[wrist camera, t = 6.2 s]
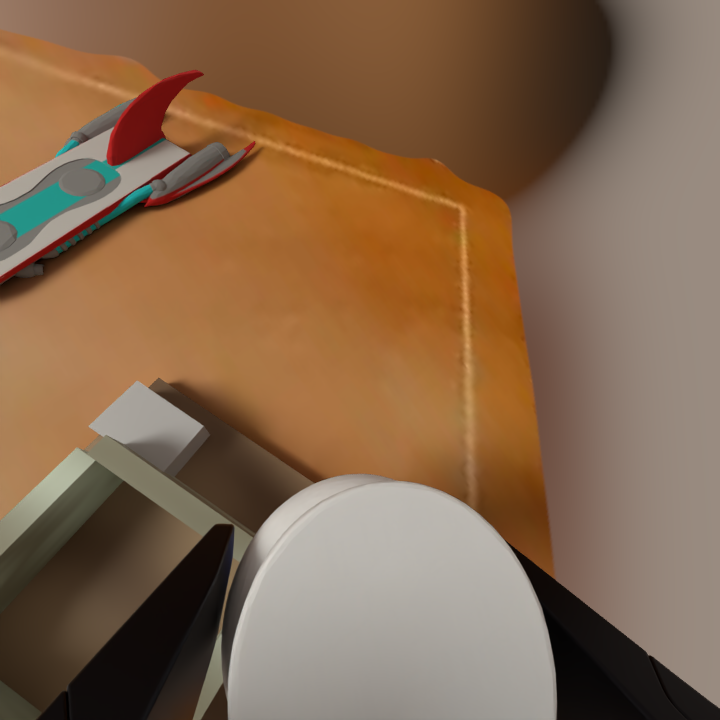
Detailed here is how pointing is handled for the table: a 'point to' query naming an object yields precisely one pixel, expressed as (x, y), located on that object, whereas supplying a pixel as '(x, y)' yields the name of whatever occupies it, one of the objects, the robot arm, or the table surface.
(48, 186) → the toy spaceship
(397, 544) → the pill bottle
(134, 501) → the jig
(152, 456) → the block
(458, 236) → the table surface
